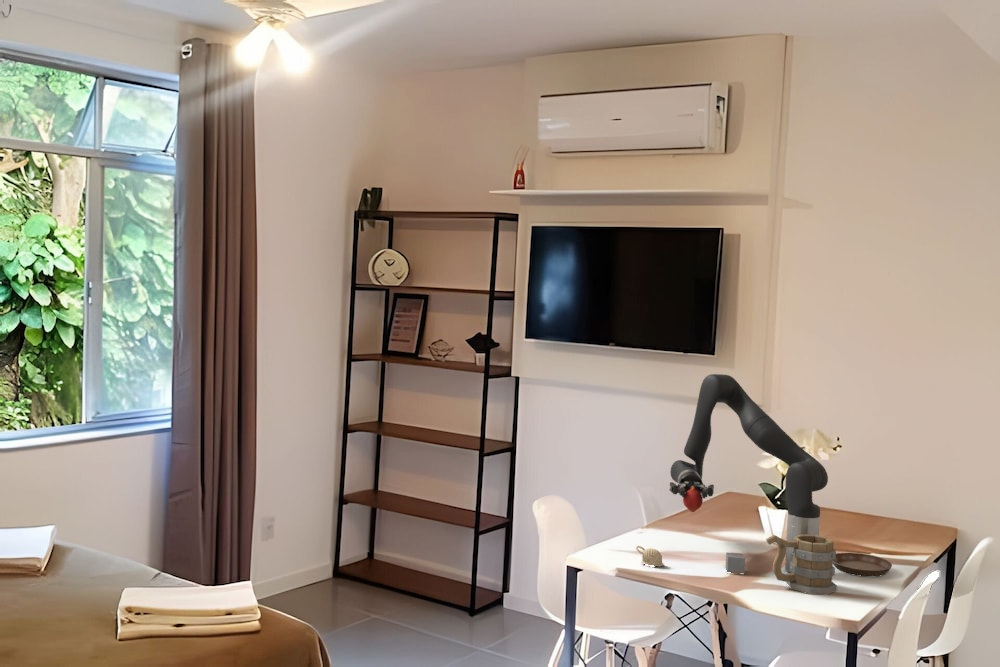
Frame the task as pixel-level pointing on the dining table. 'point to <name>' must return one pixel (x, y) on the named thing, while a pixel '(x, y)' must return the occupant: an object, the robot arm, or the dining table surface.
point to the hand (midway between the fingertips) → (694, 494)
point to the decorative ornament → (651, 556)
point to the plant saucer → (861, 564)
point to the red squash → (692, 499)
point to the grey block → (735, 562)
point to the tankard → (807, 563)
